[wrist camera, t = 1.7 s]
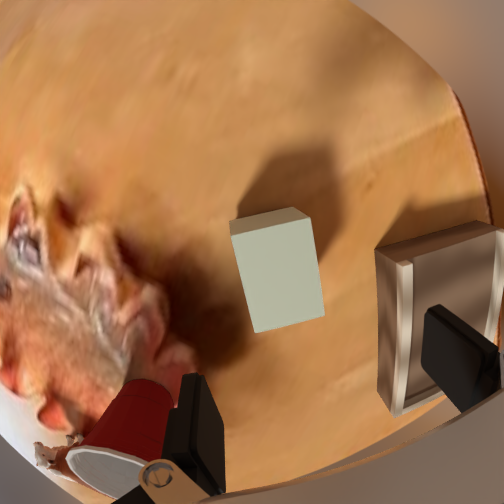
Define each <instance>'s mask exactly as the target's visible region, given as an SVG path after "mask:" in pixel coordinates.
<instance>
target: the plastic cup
mask: <svg viewBox="0 0 504 504" xmlns="http://www.w3.org/2000/svg"><path fill="white" fill-rule="evenodd" d="M171 408H174V404H173V400H172V398H171V396H170V393H169V392H168V391H167V390H166V389H165V388H164V387H163V386H161V385H159V384H157V383H155V382H153V381H149V380H145V379H136V380H132V381H130V382H128V383H126V384H125V385H124V386H123V387H122V389H121V390H120V392H119V393H118V395H117V396H116V398H115V399H113V400H112V402H111V403H110V405H109V406H108V408H107V409H106V411H105V412H104V414H103V415H102V416H101V418H100V419H99V421H98V422H97V424H96V425H95V427H94V428H93V430H92V431H91V432H89V434H88V435H87V437H86V438H85V439H83V441H82V442H81V444H79V445H78V446H76V447H74V448H72V449H71V450H70V451H69V452H68V454H67V456H66V458H65V459H66V461H67V463H68V465H69V467H70V469H71V470H72V471H73V472H74V473H75V474H76V475H77V476H78V477H79V478H80V479H81V480H82V481H84V482H85V483H87V484H88V485H90V486H91V487H93V488H94V489H96V490H98V491H99V492H101V493H104V494H106V495H108V496H110V497H113V498H115V499H119V498H120V497H122V496H123V495H125V494H126V493H128V492H129V491H131V490H132V489H134V488H135V487H137V486H138V485H139V484H140V483H139V480H138V475H139V472H140V470H141V469H142V467H143V466H144V465H146V464H147V463H149V462H151V461H153V460H157V459H161V454H162V448H163V442H164V436H165V431H166V425H167V420H168V414H169V411H170V409H171Z"/></svg>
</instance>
